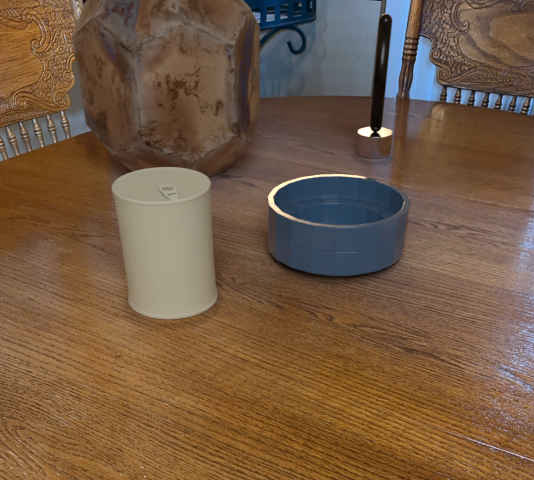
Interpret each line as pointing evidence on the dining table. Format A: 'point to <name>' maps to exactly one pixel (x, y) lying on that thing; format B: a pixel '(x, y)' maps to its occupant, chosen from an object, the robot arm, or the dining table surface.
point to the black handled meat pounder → (378, 100)
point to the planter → (170, 80)
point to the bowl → (337, 224)
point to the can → (167, 241)
